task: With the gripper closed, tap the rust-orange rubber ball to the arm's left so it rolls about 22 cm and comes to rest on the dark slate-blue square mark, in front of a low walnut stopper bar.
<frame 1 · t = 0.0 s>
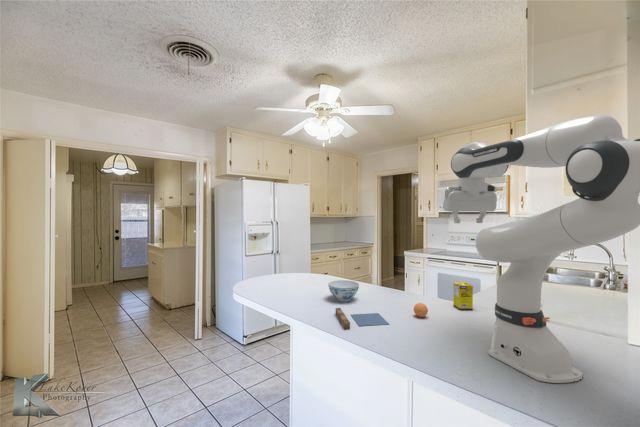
hand: (468, 223, 110), 39 cm above the counter, tool pointing down, fingers open, 8 cm apart
chinaware: (343, 299, 141), on the counter
supplement box: (462, 308, 129), on the counter
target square: (369, 319, 115), on the counter
stopper bar: (342, 321, 113), on the counter
ball: (420, 309, 118), on the counter
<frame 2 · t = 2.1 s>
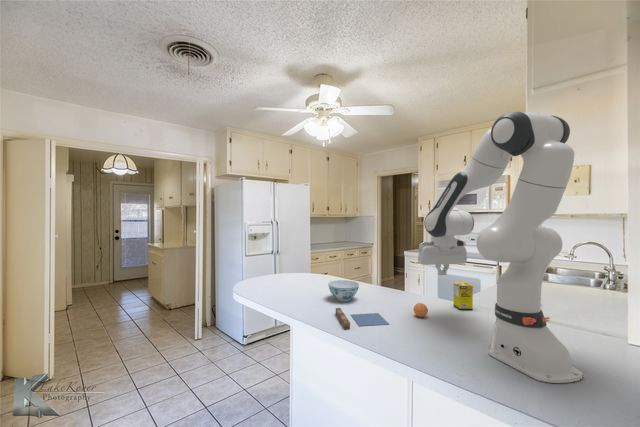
hand: (442, 274, 120), 17 cm above the counter, tool pointing down, fingers closed
nothing on the counter moved.
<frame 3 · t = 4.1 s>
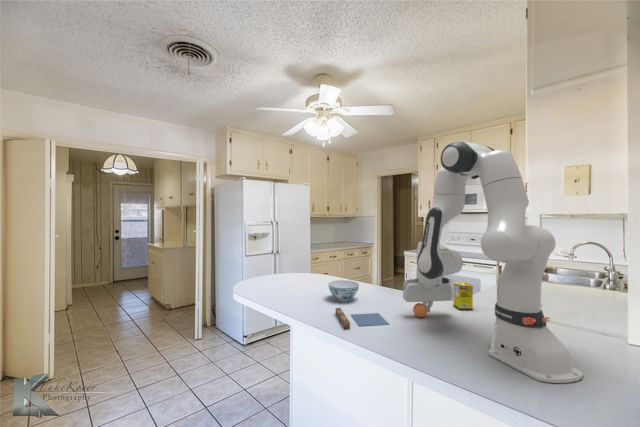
hand: (427, 311, 119), 2 cm above the counter, tool pointing down, fingers closed
ball: (420, 310, 118), on the counter, touching gripper
everything else where it was.
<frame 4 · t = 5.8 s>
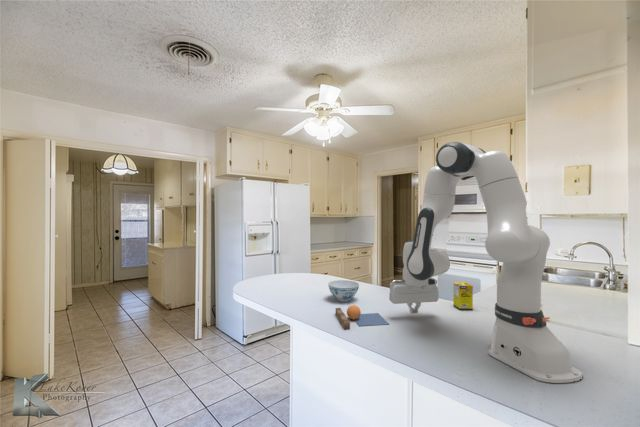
hand: (413, 313, 118), 2 cm above the counter, tool pointing down, fingers closed
ball: (353, 312, 115), on the counter
everything else where it was.
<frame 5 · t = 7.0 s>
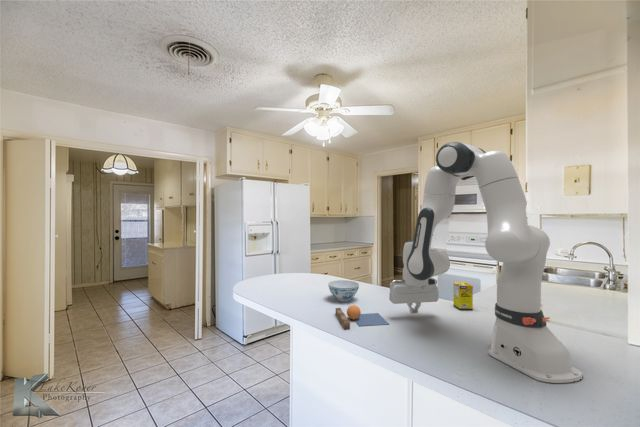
hand: (413, 313, 118), 2 cm above the counter, tool pointing down, fingers closed
nothing on the counter moved.
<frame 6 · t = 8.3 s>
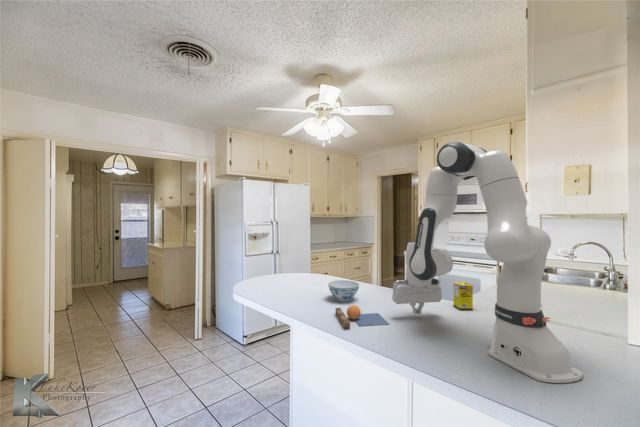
hand: (416, 313, 118), 2 cm above the counter, tool pointing down, fingers closed
nothing on the counter moved.
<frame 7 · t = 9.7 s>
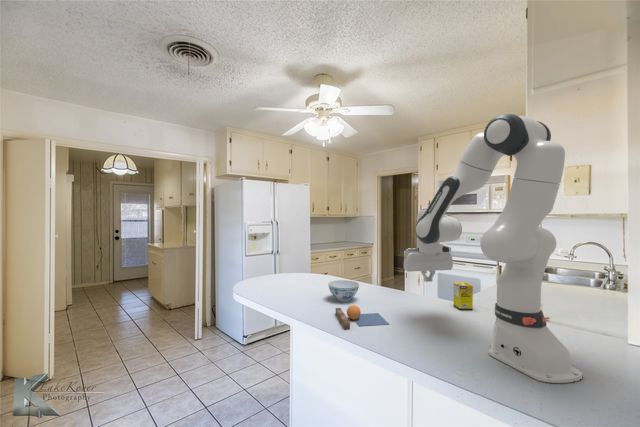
hand: (428, 281, 118), 14 cm above the counter, tool pointing down, fingers closed
nothing on the counter moved.
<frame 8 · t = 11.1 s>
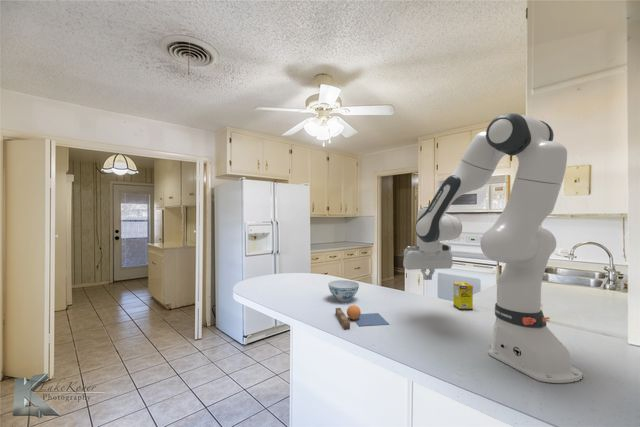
hand: (427, 279, 119), 15 cm above the counter, tool pointing down, fingers closed
nothing on the counter moved.
at the end: ball 6.1 cm from the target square (horizontally); ball at rest at the end (0.0 cm/s); ball moved 28.0 cm from its start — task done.
